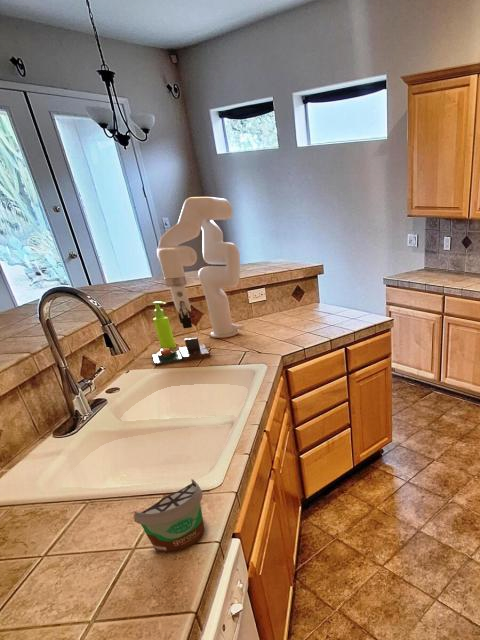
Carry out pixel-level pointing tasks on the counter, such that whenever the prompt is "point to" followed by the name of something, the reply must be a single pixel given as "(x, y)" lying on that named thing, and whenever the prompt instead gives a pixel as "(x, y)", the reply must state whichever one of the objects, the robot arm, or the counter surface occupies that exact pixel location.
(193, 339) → the black block
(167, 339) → the soap dispenser
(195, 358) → the panel
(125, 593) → the counter surface
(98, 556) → the counter surface
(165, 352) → the button
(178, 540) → the food container
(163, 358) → the button box
